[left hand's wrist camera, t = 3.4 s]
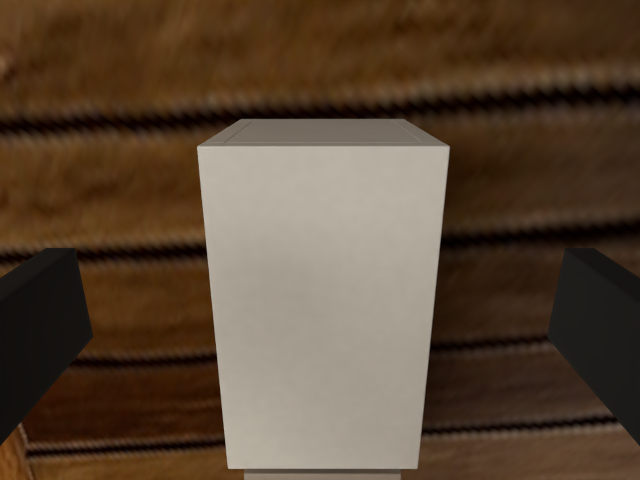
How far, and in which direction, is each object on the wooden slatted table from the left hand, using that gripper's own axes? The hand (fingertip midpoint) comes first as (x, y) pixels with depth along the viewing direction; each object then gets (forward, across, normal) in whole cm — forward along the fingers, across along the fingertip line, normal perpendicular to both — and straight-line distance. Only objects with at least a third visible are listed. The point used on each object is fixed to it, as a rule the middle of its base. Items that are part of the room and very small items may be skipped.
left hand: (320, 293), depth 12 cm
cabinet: (+17, 0, -5) cm, 18 cm away
